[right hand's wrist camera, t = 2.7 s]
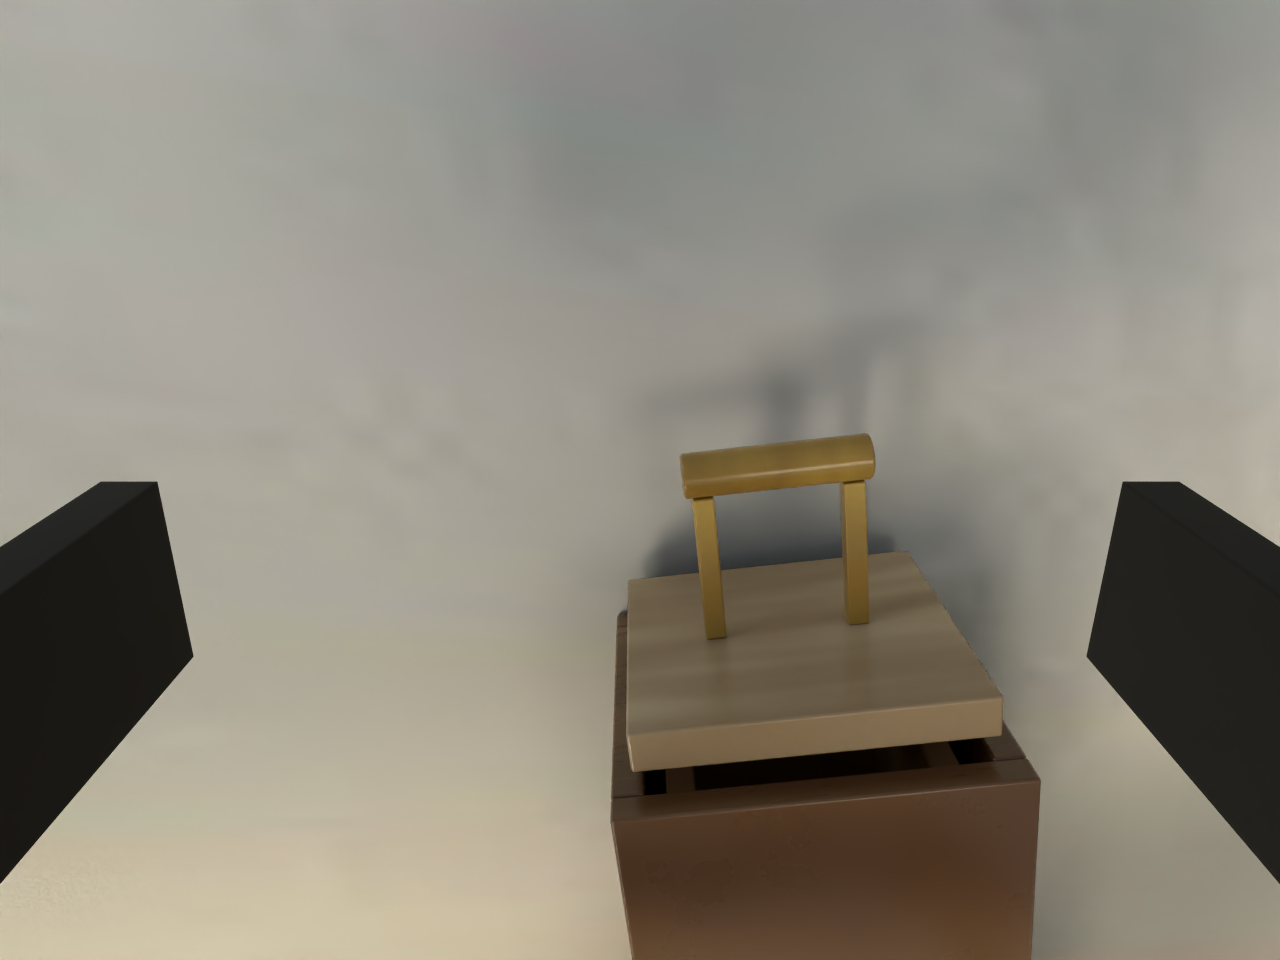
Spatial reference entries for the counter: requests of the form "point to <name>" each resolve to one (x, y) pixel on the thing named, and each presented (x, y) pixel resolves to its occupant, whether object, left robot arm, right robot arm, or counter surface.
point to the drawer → (796, 646)
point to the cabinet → (830, 859)
